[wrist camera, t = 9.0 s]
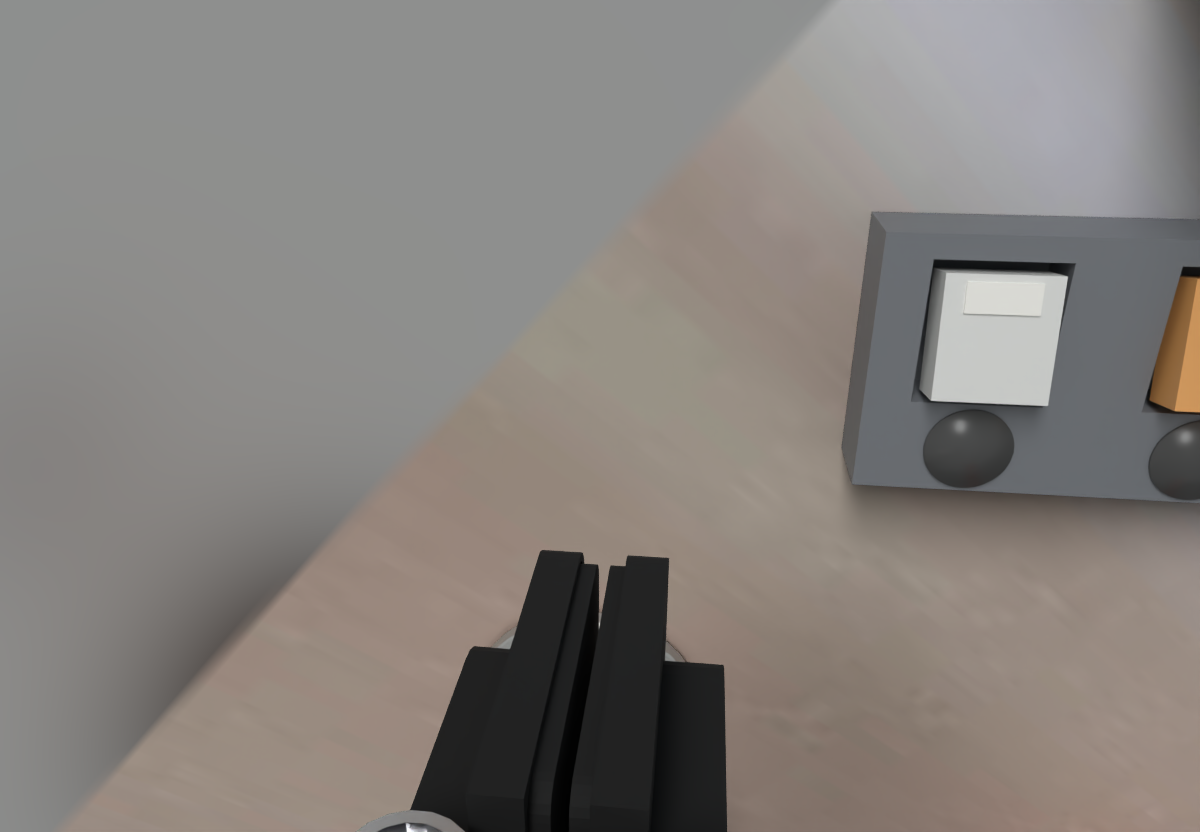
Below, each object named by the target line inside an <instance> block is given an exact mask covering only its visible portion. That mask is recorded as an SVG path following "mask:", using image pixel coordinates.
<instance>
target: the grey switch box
mask: <svg viewBox="0 0 1200 832" xmlns="http://www.w3.org/2000/svg"><path fill="white" fill-rule="evenodd" d="M933 267H934V268H967V269H1001V270H1034V271H1050V272H1054V273H1057V274H1061V275H1064V276H1068V280H1067V286H1066V293H1065V299H1064V305H1063V312H1062V318H1061V325H1060V331H1059V338H1058V344H1057V350H1056V357H1055V363H1054V370H1053V376H1052V383H1051V389H1050V395H1049V402H1048V406H1036V405H1014V404H991V403H969V402H946V401H931V400H930V399H929V398H928V397H927V396H926V395H925V394H924V393H923V392H922V391H921V390H920V389H919V388H920V379H921V370H922V362H923V353H924V345H925V336H926V327H927V319H928V310H929V302H930V293H931V284H932V276H933ZM1180 276H1200V220H1194V219H1153V218H1111V217H1069V216H1027V215H985V214H943V213H902V212H872V214H871V222H870V229H869V237H868V245H867V253H866V261H865V268H864V276H863V284H862V292H861V299H860V307H859V315H858V323H857V331H856V338H855V346H854V354H853V362H852V370H851V377H850V385H849V393H848V401H847V409H846V416H845V424H844V432H843V440H842V451H843V454H844V458H845V462H846V465H847V469H848V472H849V476H850V479H851V483H852V484H856V485H874V486H893V487H911V488H930V489H948V490H967V491H985V492H1004V493H1022V494H1041V495H1059V496H1078V497H1096V498H1115V499H1133V500H1152V501H1170V502H1189V503H1200V412H1181V411H1173V410H1171V409H1168V408H1166V407H1164V406H1161V405H1159V404H1157V403H1154V402H1152V401H1150V394H1151V388H1152V382H1153V376H1154V370H1155V364H1156V360H1157V356H1158V352H1159V349H1160V345H1161V342H1162V338H1163V335H1164V331H1165V328H1166V324H1167V321H1168V317H1169V314H1170V310H1171V307H1172V303H1173V299H1174V296H1175V292H1176V289H1177V285H1178V282H1179V278H1180Z"/></svg>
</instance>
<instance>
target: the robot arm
mask: <svg viewBox="0 0 1200 832" xmlns="http://www.w3.org/2000/svg"><path fill="white" fill-rule="evenodd" d="M668 573H669V558H660V557H644V556H627V561H626V566H610V570H609V576H608V581H607V587H606V593H605V598H604V604H603V610H602V613H600V612H599V568H598V565H595V564H584V556H583V553H581V552H565V551H549V550H542V551H541V552H540V554H539V557H538V560H537V563H536V566H535V570H534V573H533V576H532V579H531V583H530V586H529V589H528V592H527V596H526V599H525V602H524V605H523V609H522V612H521V615H520V618H519V622H518V625H517V626H516V627H514V628H513V629H511V630H510V631H508V632H507V633H505V634H504V635H503V636H502V637H501V638H500V639H499V640H498V641H497V642H496V643H495V644H494V645H493V646H492V647H491V648H490V647H476V646H474V647H473V648H472V649H471V650H470V651H469V654H468V656H467V658H466V660H465V663H464V666H463V668H462V671H461V674H460V677H459V679H458V682H457V685H456V687H455V690H454V693H453V696H452V698H451V701H450V704H449V706H448V709H447V712H446V715H445V717H444V720H443V723H442V725H441V728H440V731H439V733H438V736H437V739H436V742H435V744H434V747H433V750H432V752H431V755H430V758H429V761H428V763H427V766H426V769H425V771H424V774H423V777H422V780H421V782H420V785H419V788H418V790H417V793H416V796H415V799H414V801H413V804H412V807H411V809H410V810H409V811H403V812H397V813H391V814H387V815H385V816H383V817H380V818H378V819H376V820H373V821H371V822H369V823H367V824H366V825H364V826H363V827H361V828H360V829H359V830H357V831H356V832H727V802H726V745H725V688H724V666H723V665H716V664H703V663H690V662H685V660H684V659H683V658H682V656H681V655H680V654H679V653H678V652H677V651H676V650H675V649H674V648H673V647H672V646H671V645H670V644H669V643H668V642H667V641H666V624H667V598H668Z"/></svg>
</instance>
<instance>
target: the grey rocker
mask: <svg viewBox="0 0 1200 832" xmlns="http://www.w3.org/2000/svg"><path fill="white" fill-rule="evenodd" d="M1067 280H1068V276H1064V275H1061V274H1057V273H1054V272H1050V271H1034V270H1001V269H967V268H934V267H933V276H932V284H931V293H930V302H929V310H928V319H927V327H926V336H925V345H924V353H923V362H922V370H921V379H920V388H919V389H920V390H921V391H922V392H923V393H924V394H925V395H926V396H927V397H928V398H929V399H930V400H931V401H946V402H969V403H991V404H1014V405H1036V406H1048V402H1049V395H1050V389H1051V383H1052V376H1053V370H1054V363H1055V357H1056V350H1057V344H1058V338H1059V331H1060V325H1061V318H1062V312H1063V305H1064V299H1065V293H1066V286H1067Z"/></svg>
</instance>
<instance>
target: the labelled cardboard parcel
mask: <svg viewBox="0 0 1200 832" xmlns="http://www.w3.org/2000/svg"><path fill="white" fill-rule="evenodd" d="M1150 401H1152V402H1154V403H1157V404H1159V405H1161V406H1164V407H1166V408H1168V409H1171V410H1173V411H1181V412H1200V276H1180V278H1179V282H1178V285H1177V289H1176V292H1175V296H1174V299H1173V303H1172V307H1171V310H1170V314H1169V317H1168V321H1167V324H1166V328H1165V331H1164V335H1163V338H1162V342H1161V345H1160V349H1159V352H1158V356H1157V360H1156V364H1155V370H1154V376H1153V382H1152V388H1151V394H1150Z"/></svg>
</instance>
